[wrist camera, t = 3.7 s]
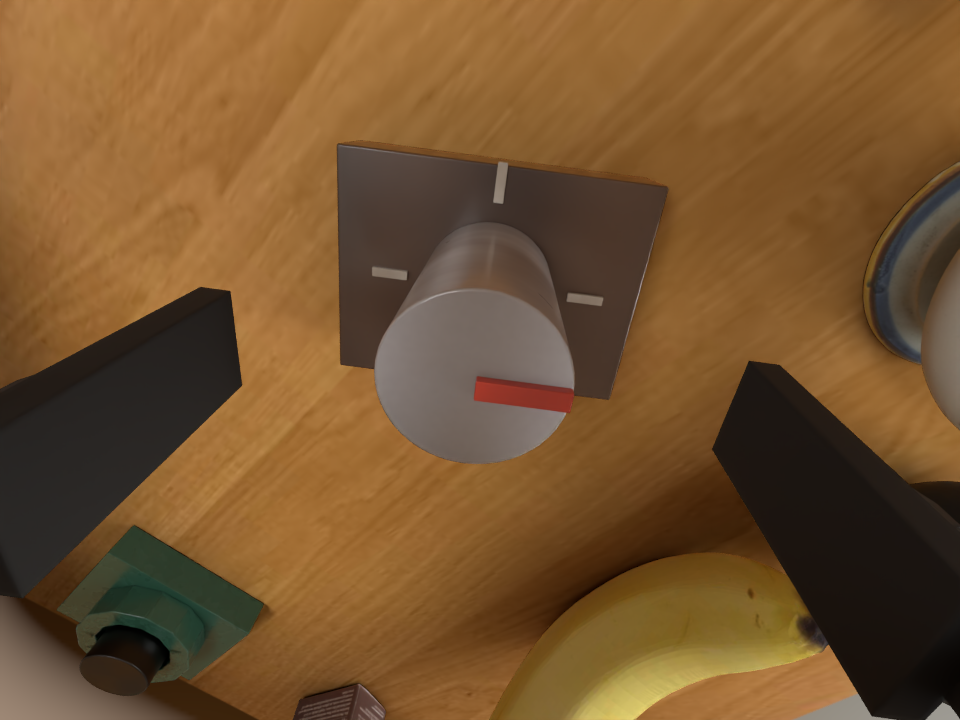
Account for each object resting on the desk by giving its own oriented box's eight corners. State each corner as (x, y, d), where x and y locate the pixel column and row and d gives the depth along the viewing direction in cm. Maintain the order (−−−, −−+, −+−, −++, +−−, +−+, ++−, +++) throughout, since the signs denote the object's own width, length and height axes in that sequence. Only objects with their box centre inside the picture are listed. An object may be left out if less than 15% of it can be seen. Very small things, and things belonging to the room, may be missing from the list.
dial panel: (359, 339, 24) (338, 368, 21) (359, 137, 20) (334, 139, 17) (598, 371, 24) (609, 404, 21) (648, 175, 20) (672, 184, 17)
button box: (82, 581, 33) (31, 636, 30) (133, 524, 31) (84, 578, 27) (206, 650, 36) (173, 708, 33) (264, 604, 33) (234, 661, 30)
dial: (421, 335, 20) (368, 459, 13) (429, 213, 18) (371, 278, 10) (538, 350, 20) (555, 483, 13) (562, 230, 18) (597, 308, 11)
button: (94, 640, 30) (68, 673, 29) (122, 613, 29) (95, 646, 27) (151, 670, 31) (129, 704, 30) (180, 645, 30) (159, 679, 28)
